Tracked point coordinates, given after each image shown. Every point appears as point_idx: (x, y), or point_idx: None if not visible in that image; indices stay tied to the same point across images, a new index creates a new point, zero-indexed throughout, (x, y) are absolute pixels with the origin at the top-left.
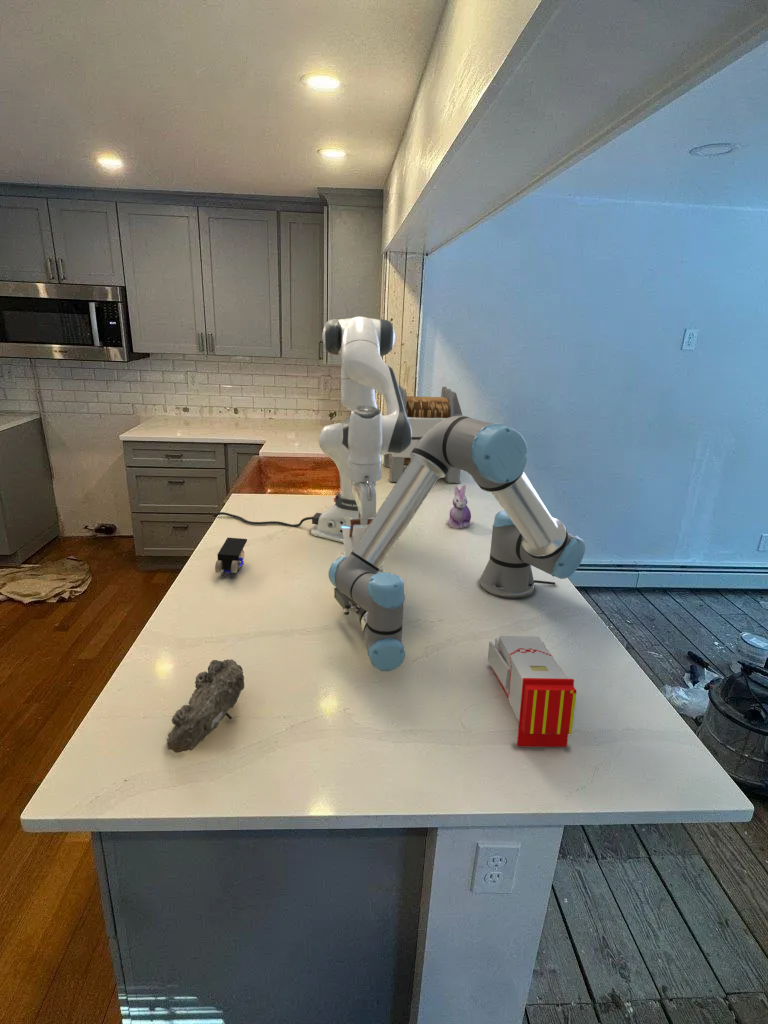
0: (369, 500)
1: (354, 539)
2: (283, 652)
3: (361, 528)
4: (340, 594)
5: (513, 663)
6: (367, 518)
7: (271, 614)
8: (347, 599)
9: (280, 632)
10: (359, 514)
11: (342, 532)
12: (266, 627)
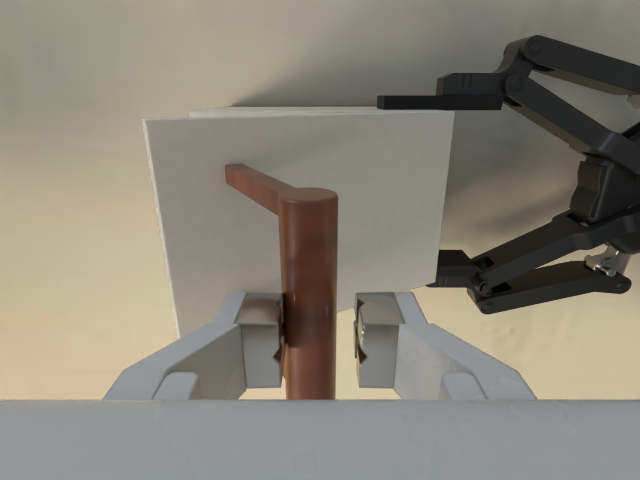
0: (207, 429)
1: (270, 275)
2: (585, 384)
3: (173, 241)
4: (537, 298)
5: None
6: (437, 327)
7: None
8: (584, 279)
9: None
10: (279, 381)
11: None
12: None
